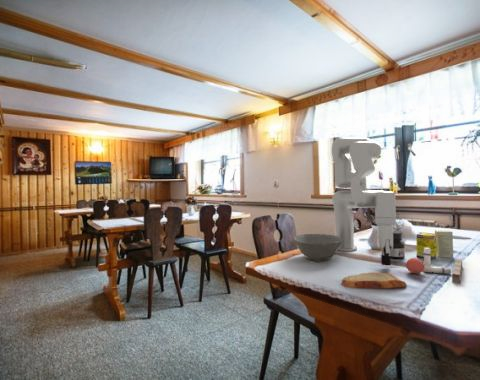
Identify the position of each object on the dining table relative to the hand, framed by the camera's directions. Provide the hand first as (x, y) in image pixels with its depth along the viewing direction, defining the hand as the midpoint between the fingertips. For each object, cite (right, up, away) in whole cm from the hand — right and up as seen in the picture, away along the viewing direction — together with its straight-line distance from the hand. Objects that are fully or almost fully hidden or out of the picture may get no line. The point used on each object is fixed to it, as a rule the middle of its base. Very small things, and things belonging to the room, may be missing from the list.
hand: (385, 264), depth 113 cm
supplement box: (+27, -1, +14) cm, 31 cm away
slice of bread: (-14, -3, -17) cm, 22 cm away
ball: (+8, +1, -7) cm, 10 cm away
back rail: (+23, -1, -9) cm, 25 cm away
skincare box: (+36, -1, +15) cm, 39 cm away
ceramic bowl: (-24, -2, +17) cm, 29 cm away
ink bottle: (+13, -1, +17) cm, 21 cm away
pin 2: (+12, 0, -5) cm, 13 cm away
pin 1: (+16, -1, -2) cm, 16 cm away
